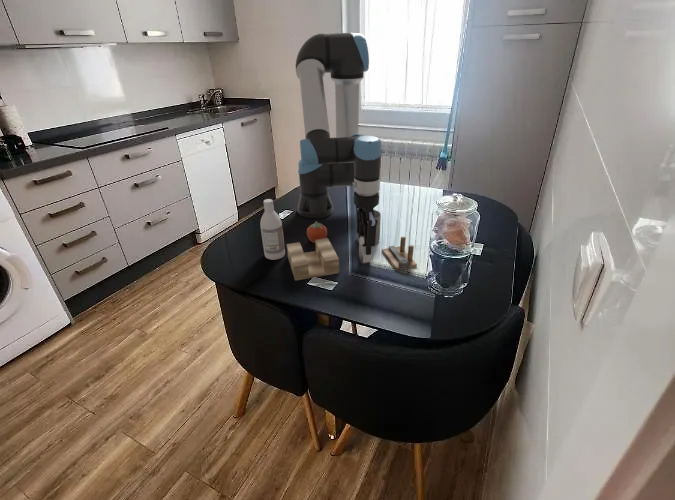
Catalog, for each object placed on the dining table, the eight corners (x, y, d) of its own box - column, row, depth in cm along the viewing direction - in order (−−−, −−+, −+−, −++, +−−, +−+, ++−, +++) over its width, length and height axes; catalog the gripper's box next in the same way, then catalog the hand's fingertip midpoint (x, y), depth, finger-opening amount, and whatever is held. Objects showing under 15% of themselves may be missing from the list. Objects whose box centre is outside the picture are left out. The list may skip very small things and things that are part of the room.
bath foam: (288, 257, 122) (282, 202, 112) (268, 262, 119) (260, 206, 109) (281, 248, 127) (275, 194, 117) (262, 252, 125) (254, 198, 114)
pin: (358, 258, 120) (358, 234, 115) (368, 256, 121) (369, 233, 116) (361, 264, 117) (361, 240, 112) (372, 262, 118) (372, 238, 113)
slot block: (288, 257, 122) (286, 244, 119) (328, 251, 125) (327, 237, 122) (295, 280, 110) (293, 266, 107) (339, 272, 113) (338, 258, 110)
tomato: (331, 238, 132) (330, 218, 128) (322, 248, 127) (320, 227, 123) (313, 235, 135) (312, 215, 131) (303, 244, 129) (301, 224, 125)
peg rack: (382, 251, 123) (382, 236, 120) (401, 248, 125) (402, 233, 122) (397, 272, 113) (398, 255, 110) (418, 268, 114) (419, 252, 111)
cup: (378, 245, 127) (379, 220, 122) (355, 243, 129) (355, 218, 124) (380, 234, 134) (381, 209, 129) (358, 232, 136) (358, 208, 131)
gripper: (346, 183, 112) (347, 248, 124) (363, 203, 99) (362, 274, 111) (369, 180, 114) (367, 244, 126) (389, 200, 100) (385, 270, 113)
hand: (365, 258), depth 118 cm, fingers closed on pin, 3 cm apart
